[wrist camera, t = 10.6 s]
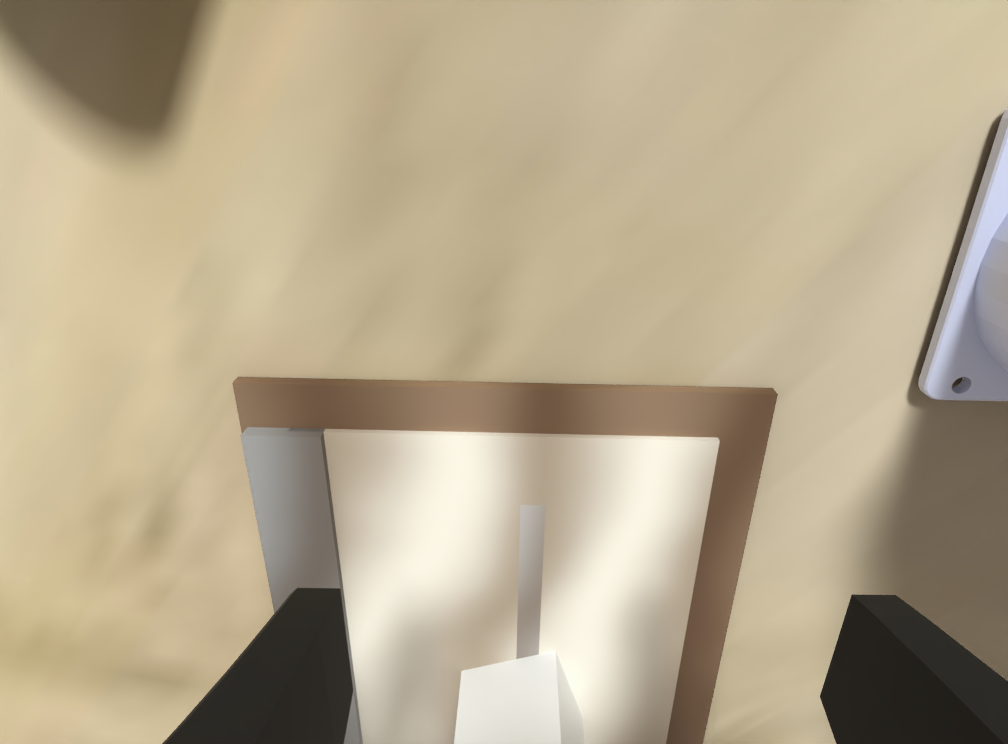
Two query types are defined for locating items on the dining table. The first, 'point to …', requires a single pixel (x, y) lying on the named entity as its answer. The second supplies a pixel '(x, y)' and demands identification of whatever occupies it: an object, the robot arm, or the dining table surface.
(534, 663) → the long rectangular beam
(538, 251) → the dining table surface
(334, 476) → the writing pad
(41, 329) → the dining table surface
